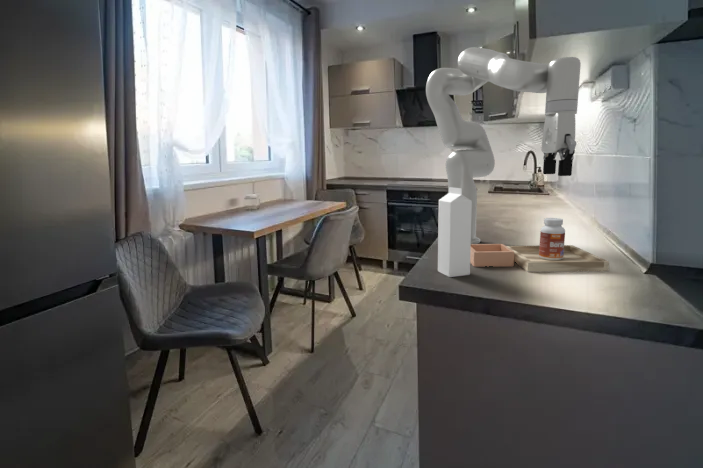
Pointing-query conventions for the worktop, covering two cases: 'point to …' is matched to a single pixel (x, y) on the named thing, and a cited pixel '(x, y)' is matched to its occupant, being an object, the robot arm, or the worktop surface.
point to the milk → (454, 234)
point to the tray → (571, 260)
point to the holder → (491, 255)
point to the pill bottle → (552, 239)
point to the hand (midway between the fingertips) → (556, 174)
